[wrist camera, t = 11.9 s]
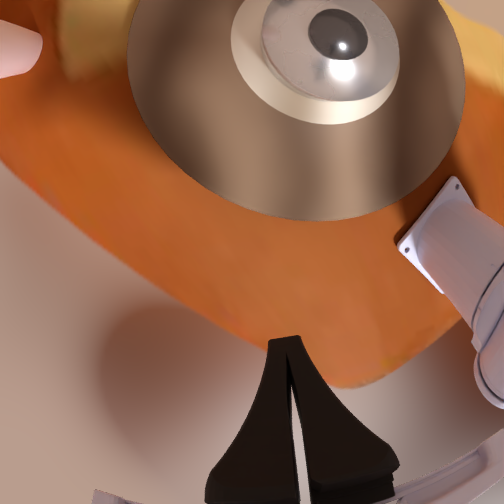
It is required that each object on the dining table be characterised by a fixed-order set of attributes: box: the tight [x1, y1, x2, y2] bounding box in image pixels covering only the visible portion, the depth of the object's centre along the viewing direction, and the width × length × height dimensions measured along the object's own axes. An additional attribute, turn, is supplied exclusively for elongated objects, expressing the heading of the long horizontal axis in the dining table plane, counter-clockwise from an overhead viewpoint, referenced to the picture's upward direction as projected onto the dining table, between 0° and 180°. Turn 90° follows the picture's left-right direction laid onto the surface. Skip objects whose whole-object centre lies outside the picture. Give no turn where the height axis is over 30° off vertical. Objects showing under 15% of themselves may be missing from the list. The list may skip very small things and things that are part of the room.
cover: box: [260, 0, 399, 102], centre depth 10 cm, size 7×7×3 cm
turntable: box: [127, 0, 465, 221], centre depth 11 cm, size 22×22×4 cm
